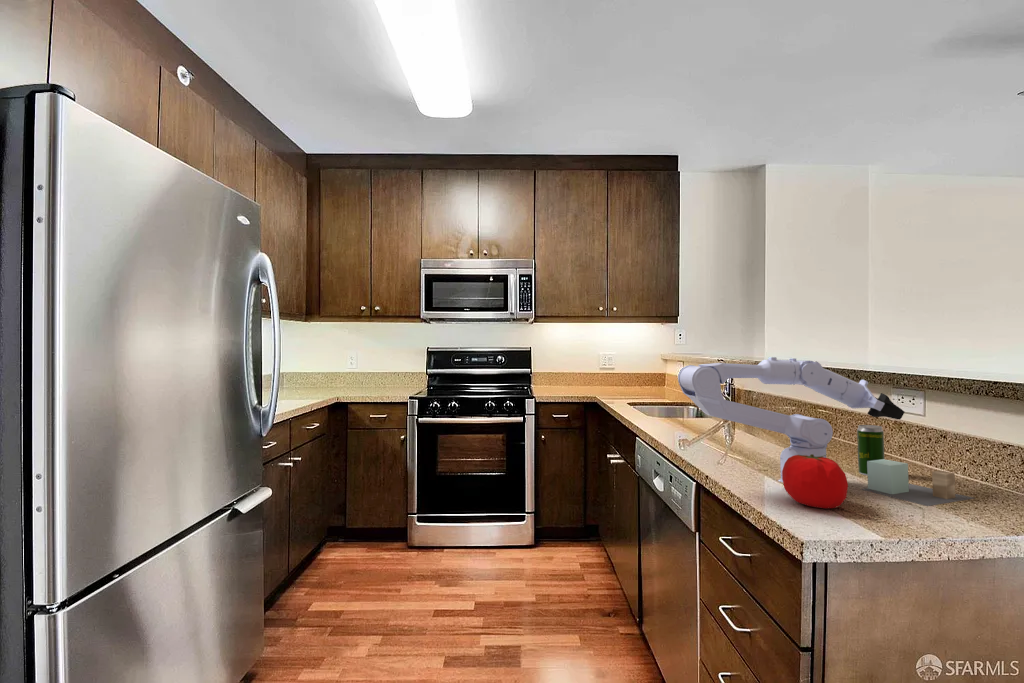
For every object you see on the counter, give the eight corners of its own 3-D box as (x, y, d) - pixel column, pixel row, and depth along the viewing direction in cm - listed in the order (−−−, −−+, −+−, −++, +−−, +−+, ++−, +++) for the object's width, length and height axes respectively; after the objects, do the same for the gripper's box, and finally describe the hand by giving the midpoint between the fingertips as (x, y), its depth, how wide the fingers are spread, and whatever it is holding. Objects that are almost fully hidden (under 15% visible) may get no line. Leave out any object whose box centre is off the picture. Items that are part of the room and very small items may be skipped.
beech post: (946, 499, 108) (945, 474, 109) (933, 495, 111) (932, 471, 111) (955, 497, 109) (954, 473, 109) (941, 494, 112) (940, 470, 112)
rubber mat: (927, 508, 104) (927, 506, 104) (860, 490, 117) (860, 489, 117) (975, 500, 109) (975, 498, 109) (904, 484, 122) (904, 482, 122)
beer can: (888, 475, 131) (886, 426, 131) (880, 479, 127) (879, 428, 127) (863, 471, 135) (861, 424, 135) (855, 475, 131) (853, 426, 132)
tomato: (825, 517, 100) (823, 462, 100) (768, 501, 111) (767, 451, 112) (865, 509, 104) (863, 456, 104) (806, 494, 116) (804, 446, 116)
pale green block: (891, 494, 113) (890, 465, 113) (868, 488, 118) (867, 461, 118) (908, 491, 114) (907, 463, 114) (884, 486, 119) (884, 459, 119)
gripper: (866, 380, 117) (921, 404, 118) (829, 366, 132) (878, 387, 132) (850, 408, 119) (905, 432, 119) (815, 391, 133) (864, 412, 133)
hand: (890, 410), depth 126 cm, fingers open, 7 cm apart
